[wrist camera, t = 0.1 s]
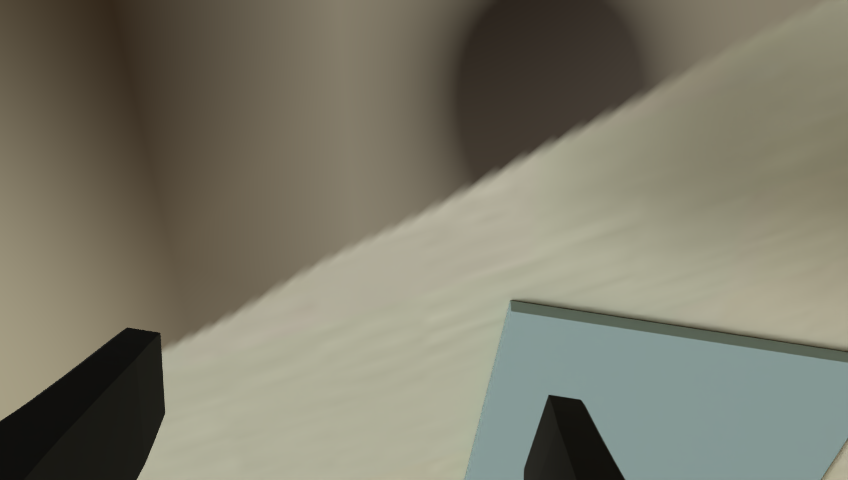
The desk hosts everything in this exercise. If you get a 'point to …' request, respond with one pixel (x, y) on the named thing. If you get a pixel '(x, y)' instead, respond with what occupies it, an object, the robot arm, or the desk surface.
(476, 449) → the mat
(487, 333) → the desk surface
